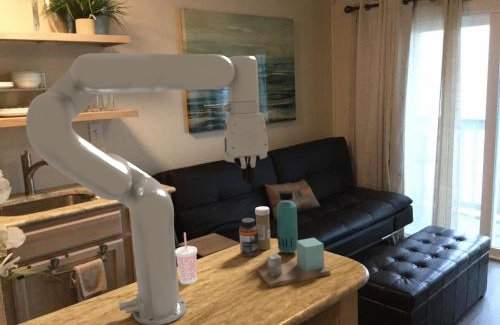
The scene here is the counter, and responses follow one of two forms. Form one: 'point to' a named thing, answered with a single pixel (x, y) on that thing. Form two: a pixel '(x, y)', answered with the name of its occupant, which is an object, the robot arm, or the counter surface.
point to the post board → (287, 272)
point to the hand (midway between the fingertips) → (247, 182)
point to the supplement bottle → (249, 238)
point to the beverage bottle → (287, 223)
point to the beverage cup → (187, 263)
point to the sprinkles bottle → (263, 227)
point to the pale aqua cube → (310, 254)
